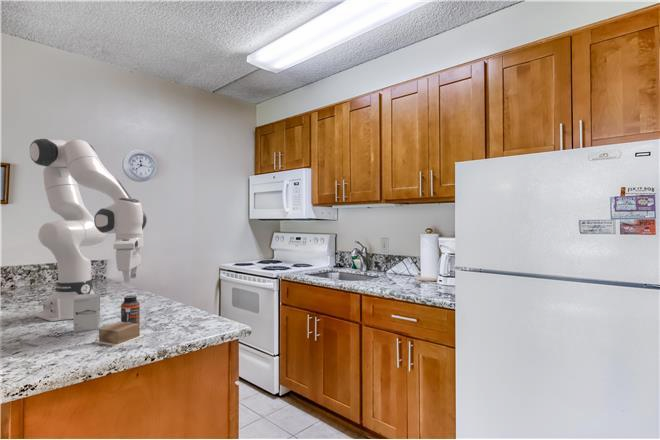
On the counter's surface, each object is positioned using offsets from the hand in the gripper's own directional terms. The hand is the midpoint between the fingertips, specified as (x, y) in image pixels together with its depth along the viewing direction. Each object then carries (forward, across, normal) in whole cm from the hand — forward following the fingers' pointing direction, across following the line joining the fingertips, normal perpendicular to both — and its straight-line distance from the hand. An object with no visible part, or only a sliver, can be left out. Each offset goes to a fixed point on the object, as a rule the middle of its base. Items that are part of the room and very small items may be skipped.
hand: (130, 280), depth 130 cm
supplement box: (+17, 0, -14) cm, 22 cm away
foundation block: (+16, +16, 0) cm, 23 cm away
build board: (+17, +14, -2) cm, 22 cm away
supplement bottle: (+18, 0, 0) cm, 18 cm away
